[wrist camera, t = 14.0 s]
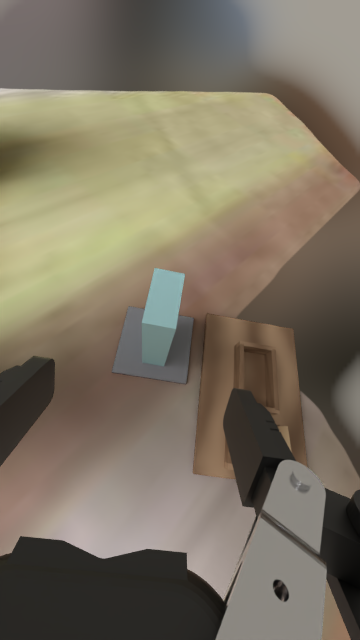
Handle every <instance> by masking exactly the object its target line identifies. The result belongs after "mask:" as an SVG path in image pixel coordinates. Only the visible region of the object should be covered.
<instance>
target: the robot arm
mask: <svg viewBox="0 0 360 640" xmlns="http://www.w3.org/2000/svg"><path fill="white" fill-rule="evenodd" d="M54 377H55V362H54V360H53V359H50V358H44V357H38V356H33V357H32V358H30V359H29V360H28V361H27V362H25V363H24V364H23V365H22V366H15V367H13V368H10V369H8V370H5V371H3V372H2V373H1V374H0V466H1V465H2V464H3V462H4V461H5V460H6V458H7V457H8V456H9V455H10V453H11V452H12V451H13V449H14V448H15V447H16V446H17V444H18V443H19V442H20V440H21V439H22V438H23V437H24V435H25V434H26V433H27V431H28V430H29V429H30V428H31V426H32V425H33V424H34V422H35V421H36V420H37V419H38V417H39V416H40V415H41V413H42V412H43V411H44V410H45V408H46V407H47V406H48V404H49V403H50V401H51V399H52V397H53V393H54ZM223 429H224V433H225V437H226V441H227V445H228V449H229V453H230V457H231V461H232V465H233V469H234V473H235V477H236V481H237V485H238V489H239V493H240V497H241V501H242V505H243V506H245V507H254V509H255V512H256V517H255V520H254V522H253V525H252V527H251V530H250V532H249V535H248V538H247V540H246V543H245V545H244V548H243V550H242V553H241V556H240V558H239V561H238V563H237V566H236V568H235V571H234V574H233V576H232V578H231V581H230V583H229V586H228V588H227V591H226V593H225V595H224V598H223V600H222V598H221V597H220V596H219V594H218V593H217V592H216V591H215V590H214V589H213V588H212V587H211V586H210V585H209V584H208V583H207V582H206V581H205V580H204V579H202V578H201V577H200V576H198V575H197V574H195V573H194V572H192V571H190V570H188V569H187V553H182V552H172V551H162V550H152V549H145V550H141V551H137V552H132V553H128V554H124V555H119V556H115V557H111V558H106V559H102V558H98V557H96V556H94V555H92V554H90V553H88V552H86V551H84V550H82V549H79V548H77V547H75V546H73V545H71V544H69V543H67V542H65V541H62V540H52V539H42V538H32V537H22V536H20V538H19V540H18V542H17V544H16V546H15V548H14V549H13V551H12V553H10V554H6V555H3V556H0V640H322V627H323V614H324V601H325V588H326V579H327V581H328V584H329V586H330V589H331V591H332V594H333V596H334V599H335V601H336V604H337V606H338V609H339V611H340V613H341V616H342V618H343V621H344V623H345V626H346V628H347V631H348V633H349V636H350V638H351V640H360V490H357V491H356V492H355V493H354V495H353V496H352V498H351V499H349V498H347V497H345V496H342V495H340V494H338V493H335V492H333V491H330V490H328V489H326V488H324V486H323V484H322V482H321V481H320V479H319V478H318V477H317V476H316V474H315V473H313V472H312V471H311V470H310V469H309V468H307V467H306V466H305V465H303V464H301V463H299V462H297V461H296V460H295V458H294V456H293V454H292V452H291V450H290V449H289V447H288V445H287V443H286V441H285V439H284V438H283V436H282V434H281V432H279V428H278V426H277V425H276V424H275V421H274V419H273V417H272V415H271V414H270V412H269V411H268V410H267V409H266V408H265V407H264V406H263V405H262V404H261V403H257V402H256V400H255V398H254V396H253V394H252V392H251V391H250V390H244V389H238V388H233V389H232V391H231V394H230V397H229V400H228V404H227V407H226V410H225V413H224V418H223Z"/></svg>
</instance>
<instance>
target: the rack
mask: <svg viewBox="0 0 360 640" xmlns="http://www.w3.org/2000/svg"><path fill="white" fill-rule="evenodd" d="M233 388H238V389H244V390H250V391H251V392H252V394H253V396H254V398H255V400H256V402H257V403H261V404H262V405H263V406H264V407H265V408H266V409H267V410H268V411H269V412H270V414H271V415H272V417H273V419H274V421H275V424H276V425H277V426H288V431H289V438H290V444H291V451H292V454H293V456H294V458H295V460H296V461H297V462H299V463H301V464H303V465H305V466H306V467H307V459H306V449H305V439H304V430H303V420H302V410H301V400H300V390H299V380H298V371H297V361H296V351H295V342H294V331H293V329H290V328H285V327H280V326H274V325H269V324H263V323H257V322H252V321H247V320H241V319H236V318H230V317H225V316H219V315H214V314H208V313H207V315H206V324H205V336H204V348H203V359H202V371H201V383H200V395H199V406H198V418H197V430H196V441H195V453H194V465H193V473H194V474H198V475H206V476H213V477H221V478H229V479H236V477H235V473H234V469H233V465H232V461H231V457H230V453H229V449H228V445H227V441H226V437H225V433H224V429H223V418H224V413H225V410H226V407H227V404H228V400H229V397H230V394H231V391H232V389H233Z"/></svg>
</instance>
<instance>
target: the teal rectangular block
mask: <svg viewBox="0 0 360 640" xmlns="http://www.w3.org/2000/svg"><path fill="white" fill-rule="evenodd" d="M184 277H185V274H182V273H177V272H172V271H167V270H163V269H158V268H155V269H154V273H153V278H152V282H151V286H150V290H149V294H148V298H147V303H146V307H145V311H144V315H143V319H142V363H147V364H153V365H159V366H164V365H165V362H166V359H167V355H168V352H169V349H170V346H171V343H172V340H173V337H174V334H175V331H176V326H177V320H178V314H179V307H180V301H181V295H182V289H183V283H184Z"/></svg>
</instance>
